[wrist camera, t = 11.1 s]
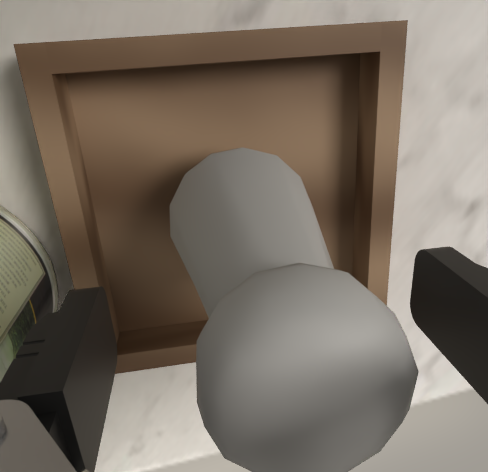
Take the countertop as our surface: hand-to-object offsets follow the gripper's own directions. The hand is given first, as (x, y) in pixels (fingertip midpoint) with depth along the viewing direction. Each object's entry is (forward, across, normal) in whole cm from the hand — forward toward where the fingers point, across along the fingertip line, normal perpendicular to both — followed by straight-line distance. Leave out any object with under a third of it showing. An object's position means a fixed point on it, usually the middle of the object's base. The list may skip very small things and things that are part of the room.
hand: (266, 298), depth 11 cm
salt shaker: (+9, 0, 0) cm, 9 cm away
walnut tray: (+10, 0, 0) cm, 10 cm away
